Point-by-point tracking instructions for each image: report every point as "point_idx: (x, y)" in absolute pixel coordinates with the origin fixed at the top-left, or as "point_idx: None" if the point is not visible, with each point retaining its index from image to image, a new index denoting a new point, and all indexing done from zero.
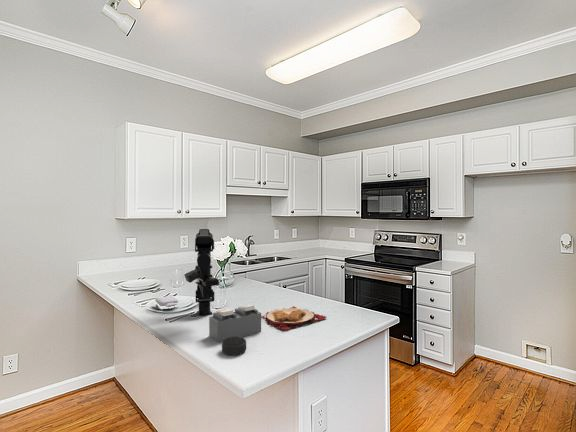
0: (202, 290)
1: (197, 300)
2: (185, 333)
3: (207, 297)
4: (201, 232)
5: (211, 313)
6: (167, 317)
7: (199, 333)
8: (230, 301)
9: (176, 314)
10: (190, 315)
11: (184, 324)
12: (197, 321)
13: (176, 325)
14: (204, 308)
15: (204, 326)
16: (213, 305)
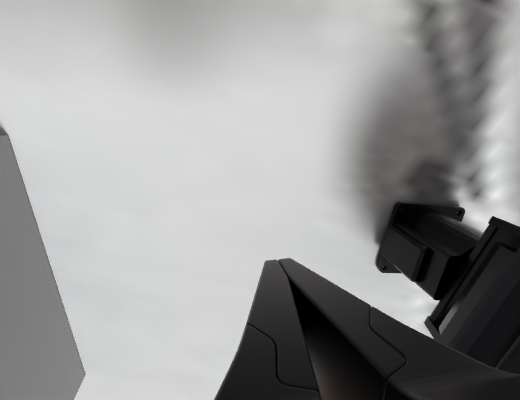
0: (265, 340)
1: (510, 237)
2: (137, 6)
3: (454, 313)
4: None
5: (379, 266)
6: (511, 18)
7: (93, 96)
8: None
9: (517, 93)
10: (442, 161)
11: (317, 70)
12: (320, 162)
13: (331, 12)
14: (409, 246)
15: (210, 169)
16: None
